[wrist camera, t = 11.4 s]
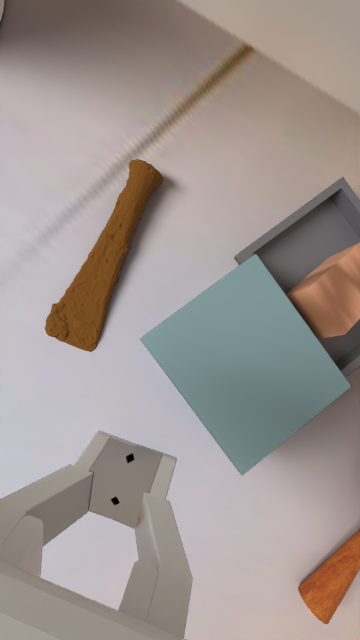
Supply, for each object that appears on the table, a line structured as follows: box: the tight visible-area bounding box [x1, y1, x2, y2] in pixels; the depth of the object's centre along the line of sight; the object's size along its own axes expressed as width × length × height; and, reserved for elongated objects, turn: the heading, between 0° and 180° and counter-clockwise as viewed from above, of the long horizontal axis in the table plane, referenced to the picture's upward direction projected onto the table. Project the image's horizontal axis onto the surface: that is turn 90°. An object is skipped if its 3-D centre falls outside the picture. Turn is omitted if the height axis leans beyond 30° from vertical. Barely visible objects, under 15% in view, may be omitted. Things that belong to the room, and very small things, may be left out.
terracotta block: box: [285, 242, 360, 339], centre depth 28 cm, size 5×4×8 cm
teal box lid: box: [140, 254, 351, 476], centre depth 27 cm, size 14×12×6 cm
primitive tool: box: [45, 159, 163, 352], centre depth 28 cm, size 19×6×4 cm, turn 158°
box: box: [234, 177, 360, 377], centre depth 30 cm, size 16×13×2 cm
